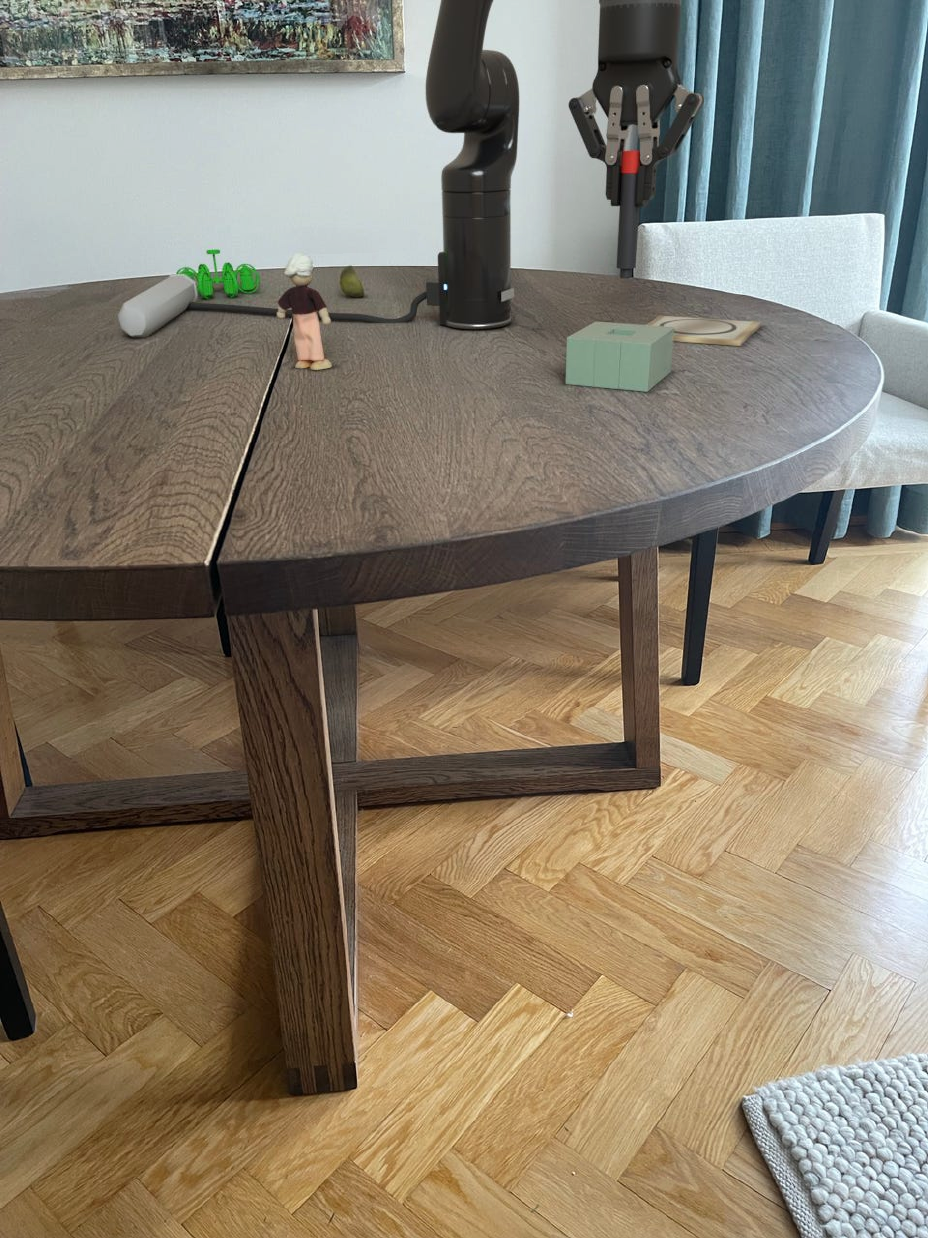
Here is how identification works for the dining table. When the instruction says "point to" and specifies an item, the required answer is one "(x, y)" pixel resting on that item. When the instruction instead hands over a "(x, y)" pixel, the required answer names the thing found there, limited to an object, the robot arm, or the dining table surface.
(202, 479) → the dining table surface
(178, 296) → the tube
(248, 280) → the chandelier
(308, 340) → the grandmother figurine
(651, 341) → the pen stand
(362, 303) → the dining table surface
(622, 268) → the marker
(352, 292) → the lime
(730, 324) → the square wooden coaster
